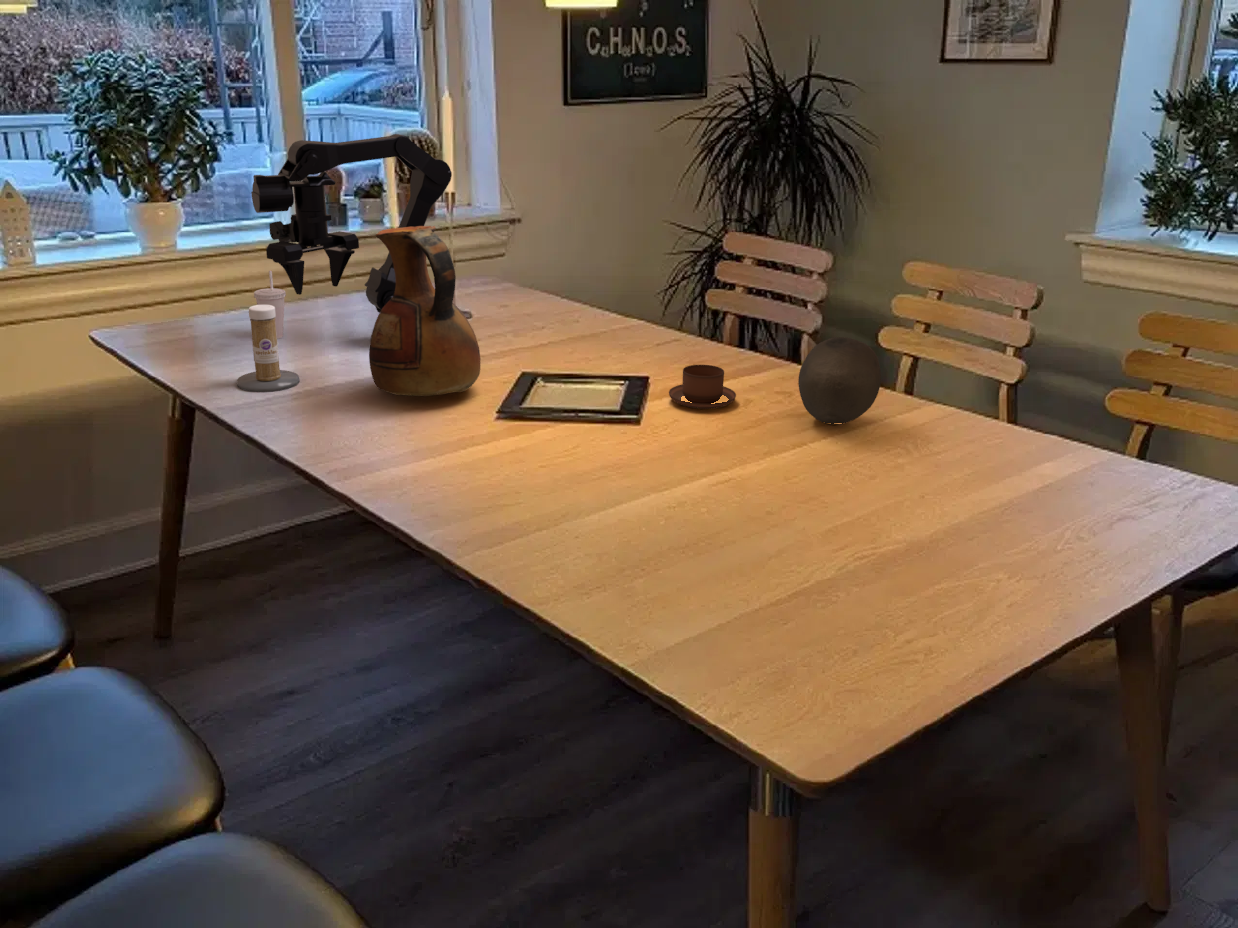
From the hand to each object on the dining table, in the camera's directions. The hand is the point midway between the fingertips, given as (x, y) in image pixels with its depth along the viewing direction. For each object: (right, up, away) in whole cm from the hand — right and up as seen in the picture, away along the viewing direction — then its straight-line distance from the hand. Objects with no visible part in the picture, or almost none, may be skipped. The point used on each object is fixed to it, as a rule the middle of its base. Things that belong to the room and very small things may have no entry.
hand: (317, 290), depth 218 cm
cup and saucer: (+74, -23, -19) cm, 80 cm away
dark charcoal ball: (+96, -28, -28) cm, 104 cm away
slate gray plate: (-5, -19, -13) cm, 24 cm away
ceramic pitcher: (+24, -21, -16) cm, 36 cm away
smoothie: (-13, -8, +16) cm, 22 cm away
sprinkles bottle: (-5, -19, -13) cm, 23 cm away
